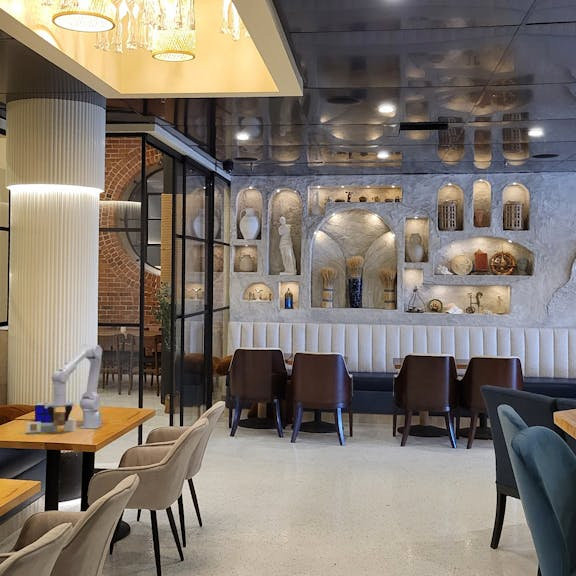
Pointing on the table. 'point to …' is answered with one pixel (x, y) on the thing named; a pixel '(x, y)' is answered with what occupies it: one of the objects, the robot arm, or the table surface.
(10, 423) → the table surface
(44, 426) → the base block
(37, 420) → the puzzle cube
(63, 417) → the walnut block
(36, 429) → the cream-edged tan board
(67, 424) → the off-white block
